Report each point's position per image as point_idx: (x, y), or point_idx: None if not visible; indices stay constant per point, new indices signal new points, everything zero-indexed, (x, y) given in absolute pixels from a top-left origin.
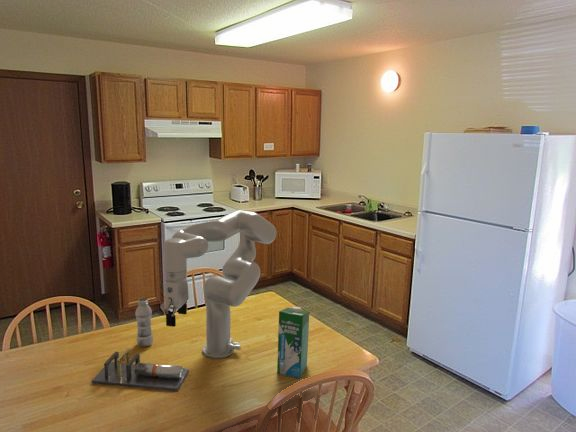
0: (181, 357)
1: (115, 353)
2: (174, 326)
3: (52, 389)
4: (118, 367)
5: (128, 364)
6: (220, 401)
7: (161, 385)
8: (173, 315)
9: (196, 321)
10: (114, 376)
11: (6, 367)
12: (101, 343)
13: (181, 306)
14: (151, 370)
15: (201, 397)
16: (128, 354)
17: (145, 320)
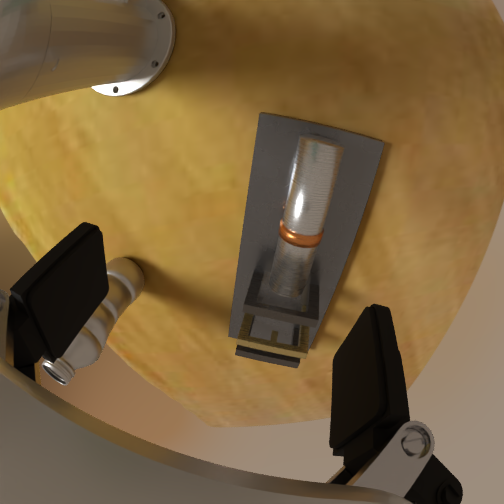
0: (173, 155)
1: (245, 354)
2: (384, 308)
3: (316, 387)
4: (308, 336)
5: (311, 323)
6: (436, 12)
7: (361, 197)
8: (414, 433)
9: (15, 166)
10: None
11: (247, 425)
12: (151, 346)
13: (291, 500)
14: (317, 247)
15: (418, 64)
16: (249, 328)
17: (98, 325)
